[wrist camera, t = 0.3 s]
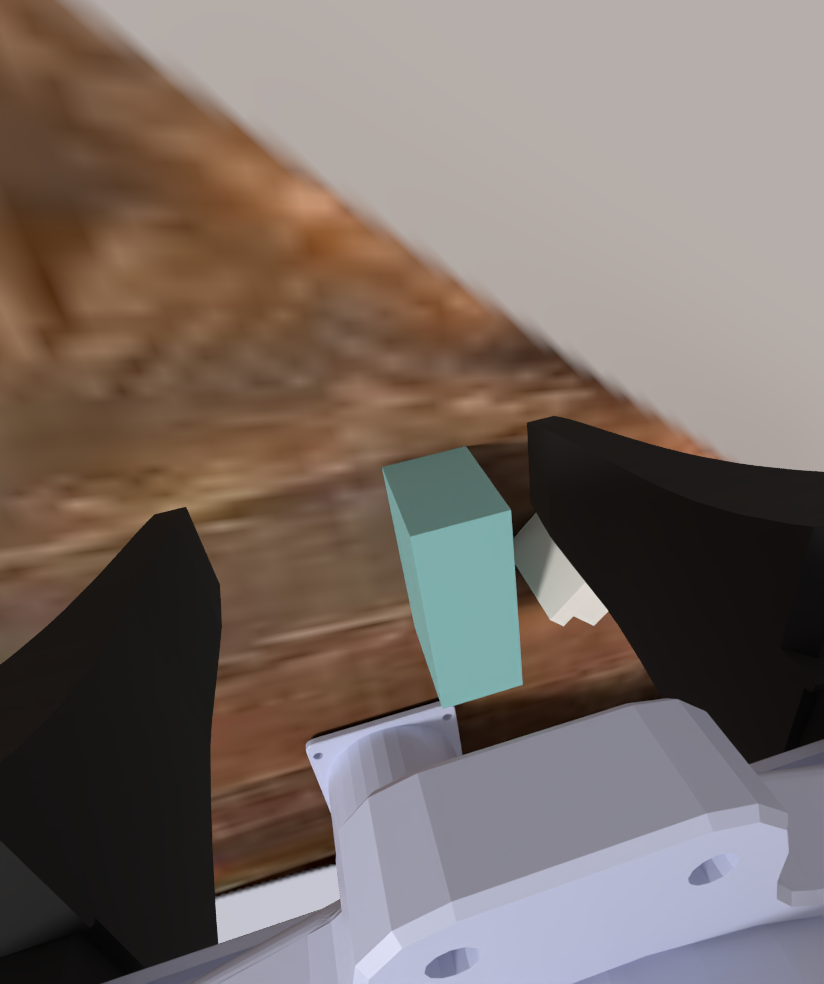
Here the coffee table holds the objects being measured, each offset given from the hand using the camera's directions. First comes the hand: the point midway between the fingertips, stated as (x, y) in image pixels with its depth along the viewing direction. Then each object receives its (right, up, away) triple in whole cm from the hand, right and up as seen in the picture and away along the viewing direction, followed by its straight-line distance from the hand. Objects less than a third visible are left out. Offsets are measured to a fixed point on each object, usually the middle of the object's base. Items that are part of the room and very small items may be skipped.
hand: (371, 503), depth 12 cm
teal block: (+2, -2, +14) cm, 14 cm away
